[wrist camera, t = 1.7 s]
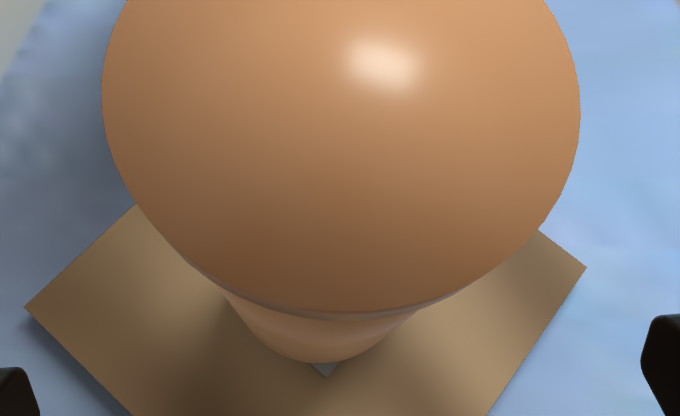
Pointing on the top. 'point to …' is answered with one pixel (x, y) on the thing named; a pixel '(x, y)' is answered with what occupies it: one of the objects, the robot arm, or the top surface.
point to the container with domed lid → (340, 150)
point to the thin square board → (269, 366)
